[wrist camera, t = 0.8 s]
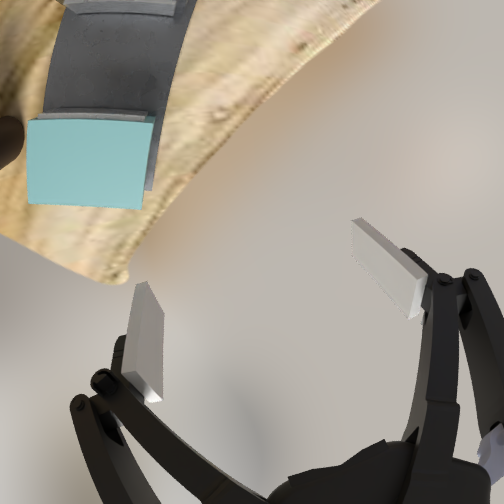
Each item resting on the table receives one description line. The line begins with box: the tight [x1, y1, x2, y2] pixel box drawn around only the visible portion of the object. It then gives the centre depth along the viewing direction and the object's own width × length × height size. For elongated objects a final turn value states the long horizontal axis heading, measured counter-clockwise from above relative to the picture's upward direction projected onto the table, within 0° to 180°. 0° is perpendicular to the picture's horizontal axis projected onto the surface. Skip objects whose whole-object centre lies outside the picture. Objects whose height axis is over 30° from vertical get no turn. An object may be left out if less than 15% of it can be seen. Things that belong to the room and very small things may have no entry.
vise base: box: [43, 0, 197, 191], centre depth 22 cm, size 28×16×8 cm, turn 164°
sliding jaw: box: [27, 108, 155, 210], centre depth 25 cm, size 10×14×6 cm
